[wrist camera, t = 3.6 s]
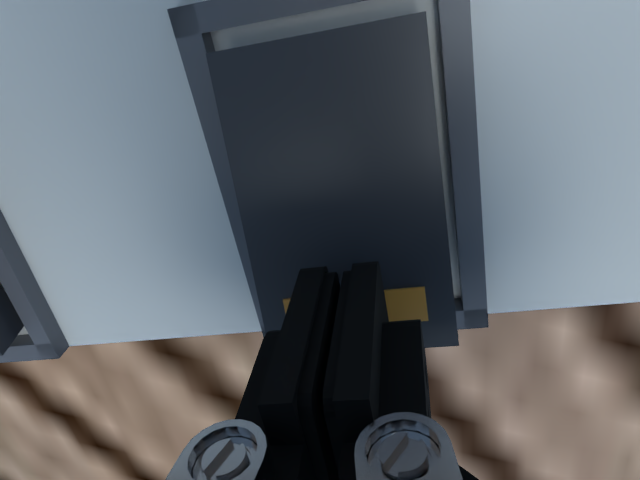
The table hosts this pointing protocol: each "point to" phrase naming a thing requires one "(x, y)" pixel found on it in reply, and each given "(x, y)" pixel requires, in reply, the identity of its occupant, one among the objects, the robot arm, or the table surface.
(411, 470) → the robot arm
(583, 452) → the table surface
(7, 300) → the rocker
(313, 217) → the rocker middle
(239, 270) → the rocker switch panel
